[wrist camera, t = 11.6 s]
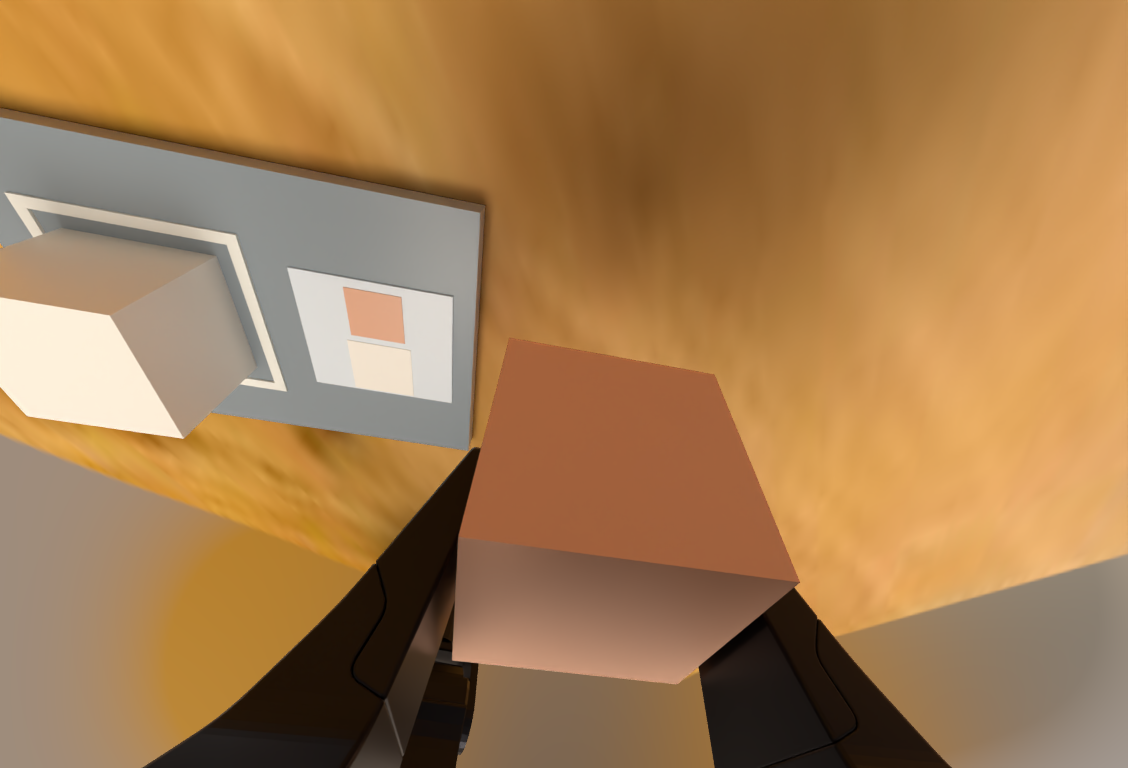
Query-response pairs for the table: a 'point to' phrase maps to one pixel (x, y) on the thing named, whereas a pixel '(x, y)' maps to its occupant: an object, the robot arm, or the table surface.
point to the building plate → (283, 269)
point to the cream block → (117, 333)
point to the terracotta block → (611, 522)
